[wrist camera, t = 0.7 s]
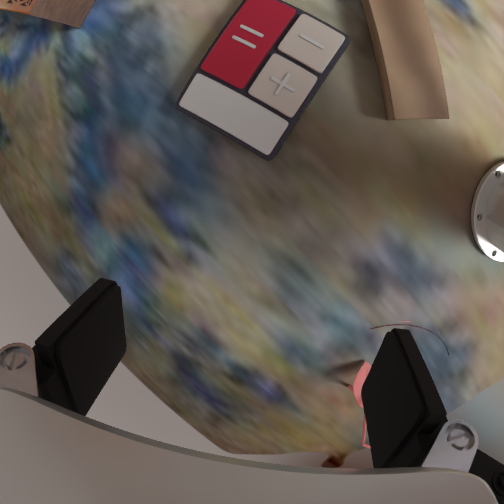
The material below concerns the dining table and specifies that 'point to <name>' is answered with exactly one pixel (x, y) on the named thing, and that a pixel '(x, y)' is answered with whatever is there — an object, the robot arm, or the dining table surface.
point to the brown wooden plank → (406, 59)
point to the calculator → (262, 74)
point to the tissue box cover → (52, 9)
